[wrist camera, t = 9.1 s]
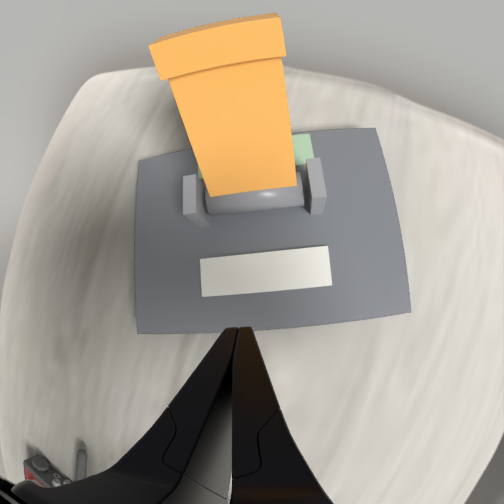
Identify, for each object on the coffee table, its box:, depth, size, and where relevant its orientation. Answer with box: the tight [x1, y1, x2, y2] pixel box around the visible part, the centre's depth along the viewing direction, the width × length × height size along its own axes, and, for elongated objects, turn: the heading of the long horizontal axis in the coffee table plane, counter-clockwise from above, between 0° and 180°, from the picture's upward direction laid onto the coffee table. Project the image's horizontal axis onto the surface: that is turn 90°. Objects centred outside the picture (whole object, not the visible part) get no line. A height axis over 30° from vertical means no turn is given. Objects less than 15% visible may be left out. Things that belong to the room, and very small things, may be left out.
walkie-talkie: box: [24, 450, 87, 487], centre depth 17 cm, size 9×4×20 cm
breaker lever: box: [149, 13, 304, 217], centre depth 14 cm, size 2×6×11 cm, turn 94°
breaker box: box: [135, 128, 411, 334], centre depth 18 cm, size 13×18×4 cm
